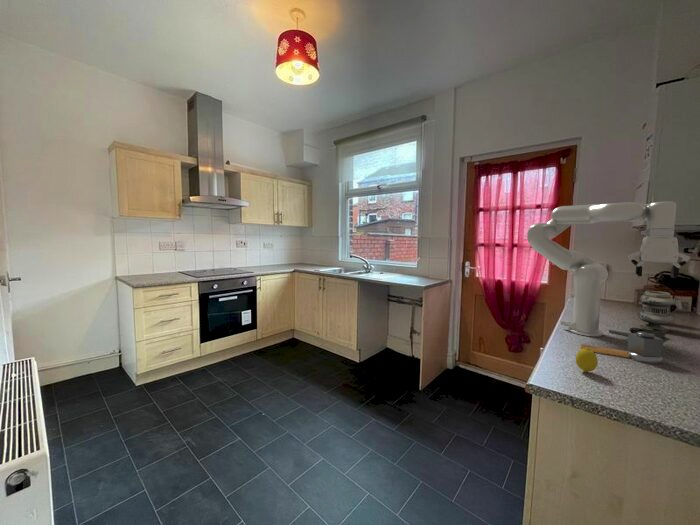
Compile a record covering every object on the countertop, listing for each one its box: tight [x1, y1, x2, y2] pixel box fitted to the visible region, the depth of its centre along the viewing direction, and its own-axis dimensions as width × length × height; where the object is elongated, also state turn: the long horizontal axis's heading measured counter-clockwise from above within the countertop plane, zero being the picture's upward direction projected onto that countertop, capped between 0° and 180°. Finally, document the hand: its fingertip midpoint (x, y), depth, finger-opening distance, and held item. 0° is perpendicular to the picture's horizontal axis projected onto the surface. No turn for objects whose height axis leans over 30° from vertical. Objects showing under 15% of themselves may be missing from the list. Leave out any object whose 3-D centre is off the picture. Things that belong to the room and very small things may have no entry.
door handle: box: [608, 327, 667, 339], centre depth 131 cm, size 3×20×16 cm
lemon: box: [575, 348, 599, 373], centre depth 95 cm, size 6×6×8 cm
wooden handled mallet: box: [579, 343, 663, 365], centre depth 110 cm, size 22×9×5 cm, turn 57°
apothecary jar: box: [637, 290, 676, 333], centre depth 142 cm, size 12×12×18 cm
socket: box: [626, 332, 664, 358], centre depth 106 cm, size 6×6×8 cm
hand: (656, 276), depth 116 cm, fingers open, 9 cm apart
